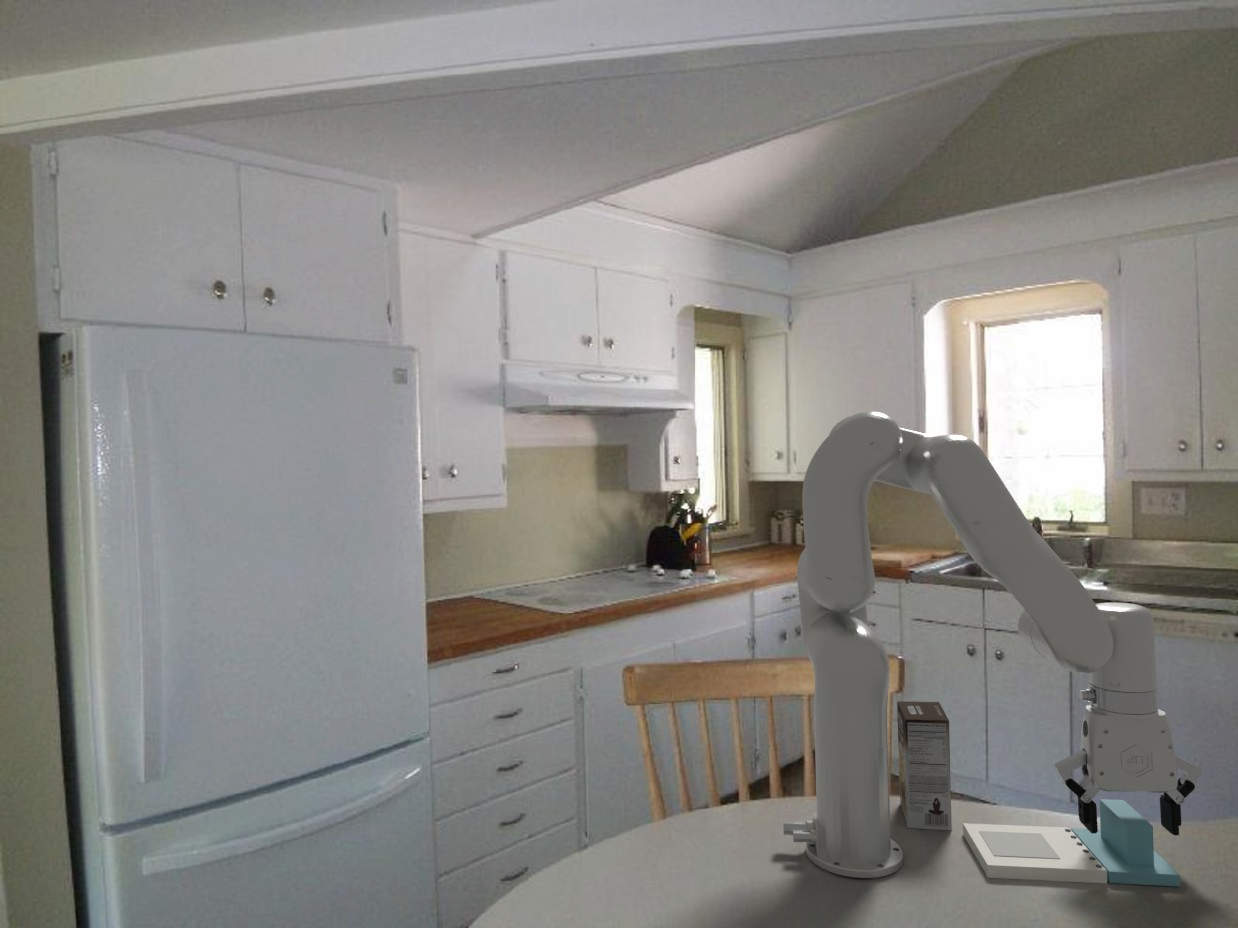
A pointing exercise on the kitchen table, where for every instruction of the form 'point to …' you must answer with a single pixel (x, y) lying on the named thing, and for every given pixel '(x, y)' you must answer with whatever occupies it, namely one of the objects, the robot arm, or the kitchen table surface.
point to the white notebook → (1033, 853)
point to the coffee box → (924, 765)
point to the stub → (1127, 847)
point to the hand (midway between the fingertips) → (1129, 829)
